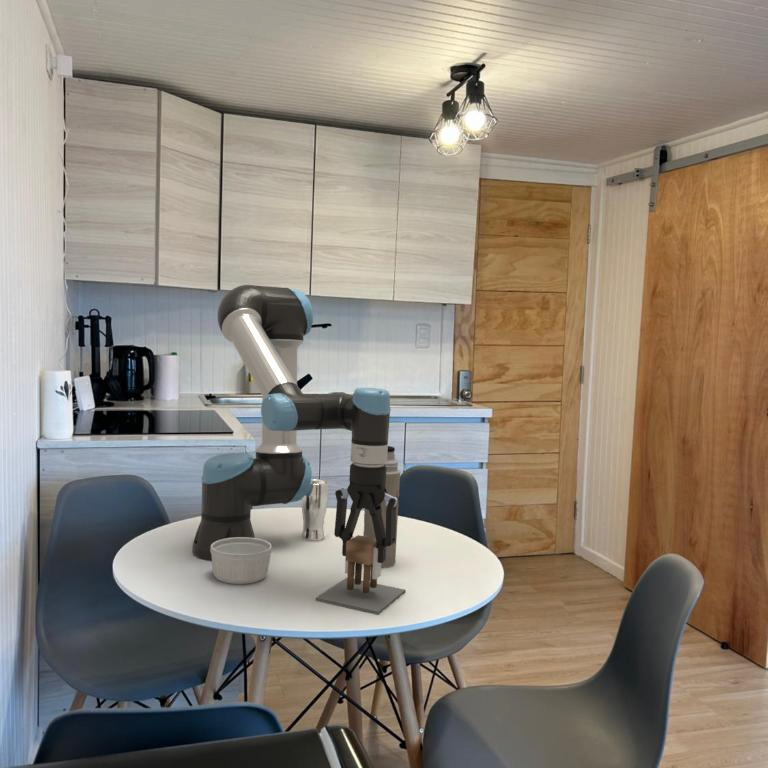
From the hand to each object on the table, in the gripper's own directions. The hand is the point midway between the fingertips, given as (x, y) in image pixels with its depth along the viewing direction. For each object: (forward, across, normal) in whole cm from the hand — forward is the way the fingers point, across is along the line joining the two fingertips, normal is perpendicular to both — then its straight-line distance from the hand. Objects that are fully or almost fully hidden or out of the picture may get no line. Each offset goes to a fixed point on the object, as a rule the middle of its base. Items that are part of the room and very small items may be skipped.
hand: (362, 574), depth 148 cm
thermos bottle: (+5, -6, +22) cm, 23 cm away
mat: (+5, 0, 0) cm, 5 cm away
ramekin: (+5, -28, -3) cm, 29 cm away
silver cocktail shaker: (+5, -29, +31) cm, 43 cm away
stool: (+3, 0, 0) cm, 3 cm away
